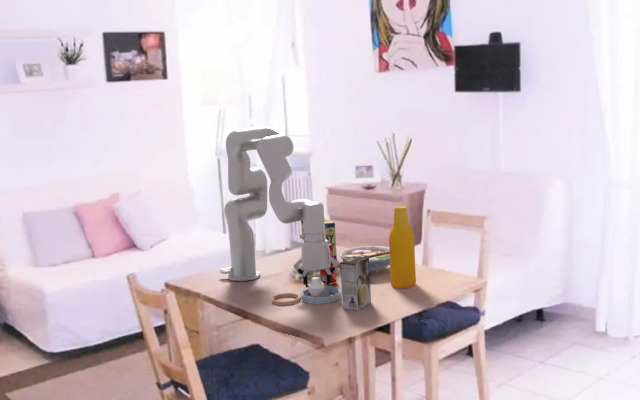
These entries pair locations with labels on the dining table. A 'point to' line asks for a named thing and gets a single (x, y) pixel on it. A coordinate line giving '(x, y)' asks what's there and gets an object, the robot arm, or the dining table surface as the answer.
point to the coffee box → (355, 282)
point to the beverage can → (323, 271)
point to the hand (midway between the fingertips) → (317, 285)
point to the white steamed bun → (316, 286)
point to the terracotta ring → (285, 296)
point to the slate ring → (322, 299)
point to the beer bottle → (402, 251)
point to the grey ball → (324, 293)
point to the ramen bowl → (370, 256)
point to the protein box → (328, 234)
